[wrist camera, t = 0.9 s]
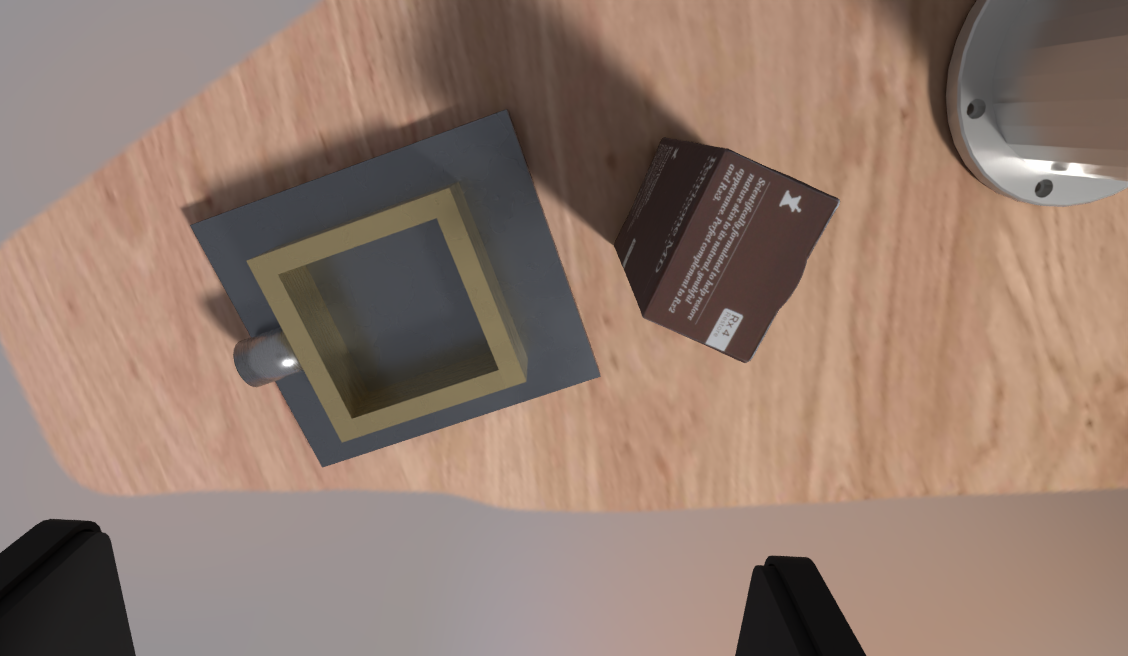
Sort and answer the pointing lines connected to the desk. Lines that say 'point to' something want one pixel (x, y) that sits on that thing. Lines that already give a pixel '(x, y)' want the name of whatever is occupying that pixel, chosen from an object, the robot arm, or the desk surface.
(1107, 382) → the desk surface
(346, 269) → the square socket base
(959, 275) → the desk surface
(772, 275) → the box
